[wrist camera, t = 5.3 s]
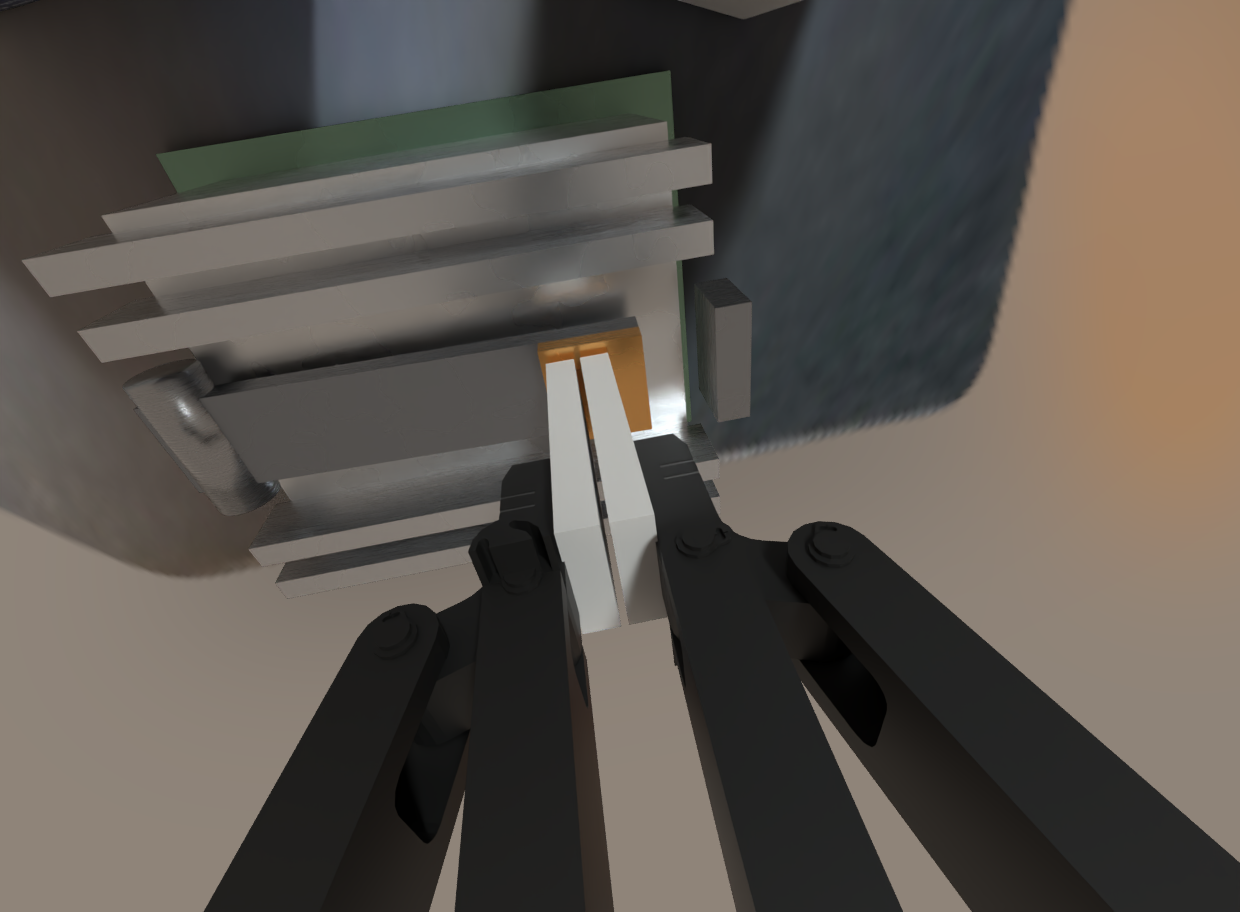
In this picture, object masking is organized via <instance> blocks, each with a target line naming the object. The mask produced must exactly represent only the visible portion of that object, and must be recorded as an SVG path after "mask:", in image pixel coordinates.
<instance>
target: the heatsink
mask: <svg viewBox="0 0 1240 912" xmlns="http://www.w3.org/2000/svg"><path fill="white" fill-rule="evenodd" d="M156 156H157V157H158V159H159V161H160V163H161V164H162V166H163V168H164V170H165V171H166V173H167V175H168V177H169V178H170V180H171V182H172V184H173V185H174V187H175V189H176V191H177V192H178V193H177V194H174V195H170V196H167V197H164V198H160V199H157V200H153V201H150V202H146V203H143V204H140V205H136V206H133V207H129V208H126V209H122V210H119V211H116V212H112V213H109V214H105V215H102V218H103V219H104V221H105V222H106V224H107V225H108V227H109V228H110V230H111V231H112V233H110V234H104V235H99V236H93V237H89V238H86V239H83V240H80V241H77V242H74V243H71V244H68V245H65V246H62V247H59V248H56V249H53V250H50V251H47V252H44V253H41V254H38V255H35V256H32V257H29V258H26V259H23V260H21V261H22V262H23V263H24V265H25V266H26V267H27V268H28V270H29V271H30V272H31V273H32V275H33V276H34V277H35V278H36V280H37V281H38V282H39V284H40V285H41V286H42V287H43V289H44V290H45V291H46V292H47V294H48V295H49V296H50V297H54V296H60V295H66V294H72V293H78V292H83V291H89V290H95V289H101V288H107V287H112V286H118V285H124V284H130V283H136V282H142V281H145V283H146V284H147V286H148V287H149V289H150V290H151V292H152V293H153V295H154V296H155V297H150V298H145V299H139V300H135V301H133V302H131V303H129V304H127V305H125V306H124V307H122V308H120V309H118V310H116V311H114V312H112V313H110V314H109V315H107V316H105V317H103V318H101V319H99V320H97V321H95V322H93V323H92V324H90V325H88V326H86V327H84V328H82V329H80V330H78V331H77V332H78V333H79V334H80V336H81V337H82V338H83V340H84V341H85V342H86V343H87V345H88V346H89V347H90V348H91V350H92V351H93V352H94V354H95V355H96V356H97V357H98V359H99V360H100V361H101V362H102V363H103V362H109V361H115V360H120V359H126V358H132V357H137V356H143V355H149V354H154V353H160V352H165V351H171V350H177V349H182V348H188V347H189V349H190V350H191V352H192V353H193V355H194V356H195V358H196V359H197V360H199V361H200V363H201V364H202V366H203V367H204V369H205V370H206V372H207V373H208V375H209V376H210V378H211V379H212V381H213V382H214V384H215V385H219V384H225V383H231V382H237V381H243V380H250V379H256V378H262V377H268V376H274V375H280V374H286V373H292V372H298V371H304V370H310V369H316V368H322V367H329V366H335V365H341V364H347V363H353V362H359V361H365V360H371V359H377V358H383V357H389V356H395V355H402V354H408V353H414V352H420V351H426V350H432V349H438V348H444V347H450V346H456V345H462V344H468V343H475V342H481V341H487V340H493V339H499V338H505V337H511V336H517V335H523V334H529V333H535V332H541V331H548V330H554V329H560V328H566V327H572V326H578V325H584V324H590V323H596V322H602V321H608V320H614V319H621V318H627V317H633V316H635V317H636V320H637V323H638V326H639V329H640V332H641V335H642V343H643V351H644V360H645V369H646V378H647V387H648V396H649V404H650V413H651V422H652V429H650V430H644V431H638V432H632V433H631V435H632V438H633V441H635V440H640V439H646V438H651V437H656V436H661V435H667V434H672V433H673V434H674V435H675V436H677V437H678V438H679V439H681V440H682V441H683V442H685V443H686V444H687V445H688V447H689V450H690V452H691V454H692V457H693V460H694V461H695V463H696V466H697V468H698V470H699V473H700V475H701V477H702V479H703V482H704V484H705V486H706V488H707V491H708V493H709V495H710V498H711V500H712V502H713V504H714V507H715V509H716V511H717V513H718V514H720V496H719V493H718V492H717V489H716V487H715V485H714V483H713V481H712V479H717V478H719V458H718V456H717V454H716V452H715V450H714V448H713V446H712V444H711V442H710V440H709V438H708V436H707V434H706V433H705V431H704V429H703V427H702V425H701V423H700V424H695V425H689V426H687V422H689V421H691V407H690V390H689V373H688V357H687V340H686V323H685V307H684V290H683V273H682V260H685V259H690V258H696V257H702V256H707V255H713V254H714V233H713V220H712V219H711V218H709V217H708V216H707V215H705V214H704V213H702V212H701V211H700V210H698V209H697V208H695V207H694V206H693V205H691V204H688V205H682V206H678V190H677V189H683V188H688V187H694V186H700V185H706V184H712V151H711V143H707V142H704V141H701V140H697V139H694V138H690V137H682V138H676V139H674V123H673V106H672V90H671V73H670V71H663V72H657V73H651V74H645V75H638V76H632V77H626V78H620V79H614V80H608V81H602V82H596V83H589V84H583V85H577V86H571V87H565V88H559V89H553V90H546V91H540V92H534V93H528V94H522V95H516V96H510V97H503V98H497V99H491V100H485V101H479V102H473V103H467V104H461V105H454V106H448V107H442V108H436V109H430V110H424V111H418V112H411V113H405V114H399V115H393V116H387V117H381V118H375V119H369V120H362V121H356V122H350V123H344V124H338V125H332V126H326V127H319V128H313V129H307V130H301V131H295V132H289V133H283V134H276V135H270V136H264V137H258V138H252V139H246V140H240V141H234V142H227V143H221V144H215V145H209V146H203V147H197V148H191V149H184V150H178V151H172V152H166V153H160V154H156ZM694 290H695V311H696V332H697V354H698V375H699V389H700V391H701V393H702V395H703V397H704V398H705V400H706V402H707V404H708V405H709V407H710V409H711V411H712V412H713V414H714V416H715V418H716V419H717V421H718V422H722V421H727V420H733V419H738V418H743V417H749V416H750V382H751V327H752V301H751V300H749V299H748V298H747V297H746V296H745V295H744V294H743V293H742V292H741V291H740V290H739V289H738V288H737V287H736V286H735V285H734V284H733V283H732V282H731V281H730V280H729V279H727V278H723V279H717V280H711V281H706V282H700V283H695V284H694ZM590 442H591V448H592V454H593V460H594V466H595V472H596V478H597V484H598V490H599V496H600V502H601V508H602V514H603V520H604V526H605V532H606V536H610V535H611V530H610V525H609V519H608V514H607V508H606V502H605V497H604V491H603V485H602V480H601V474H600V469H599V463H598V457H597V452H596V446H595V440H594V439H590ZM548 458H550V442H549V435H548V436H542V437H536V438H529V439H523V440H517V441H511V442H505V443H499V444H493V445H487V446H481V447H475V448H469V449H463V450H457V451H451V452H445V453H439V454H433V455H427V456H420V457H414V458H408V459H402V460H396V461H390V462H384V463H378V464H372V465H366V466H360V467H354V468H348V469H342V470H336V471H330V472H324V473H318V474H311V475H305V476H299V477H293V478H287V479H281V480H279V482H280V484H281V487H282V488H283V490H284V491H285V493H286V494H287V496H288V497H289V499H290V500H291V501H288V502H283V503H278V504H276V505H275V507H274V508H273V510H272V512H271V513H270V515H269V517H268V518H267V520H266V521H265V523H264V525H263V526H262V528H261V530H260V531H259V533H258V535H257V536H256V538H255V539H254V541H253V543H252V544H251V546H250V548H249V551H250V552H251V553H252V555H253V556H254V557H255V558H256V560H257V561H258V562H259V563H260V565H261V566H262V567H263V566H269V565H274V564H279V563H284V562H286V563H285V565H284V567H283V569H282V571H281V573H280V575H279V577H278V579H277V581H276V582H275V584H276V585H277V586H278V588H279V589H280V590H281V591H282V593H283V594H284V595H285V597H286V598H287V599H289V598H294V597H299V596H304V595H309V594H314V593H319V592H325V591H330V590H335V589H339V588H345V587H350V586H355V585H360V584H365V583H370V582H375V581H381V580H386V579H390V578H396V577H401V576H406V575H411V574H416V573H421V572H426V571H431V570H437V569H442V568H447V567H451V566H457V565H461V564H467V563H472V560H471V558H470V556H469V553H468V550H469V548H470V545H471V542H472V540H473V539H474V538H475V537H476V536H477V534H478V533H479V532H480V531H481V530H482V529H483V528H485V527H487V526H488V525H490V524H491V523H493V522H495V521H497V520H499V513H500V500H501V486H502V480H503V478H504V477H505V475H506V474H507V472H508V471H509V469H510V468H511V466H512V465H516V464H522V463H527V462H532V461H537V460H543V459H548Z"/></svg>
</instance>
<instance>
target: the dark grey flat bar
mask: <svg viewBox="0 0 1240 912" xmlns="http://www.w3.org/2000/svg"><path fill="white" fill-rule="evenodd" d="M603 353H608V355H609V359H610V362H611V366H612V369H613V373H614V376H615V380H616V383H617V387H618V390H619V393H620V397H621V400H622V404H623V407H624V411H625V414H626V418H627V421H628V425H629V428H630V432H631V433H632V432H638V431H644V430H650V429H652V422H651V413H650V404H649V396H648V387H647V378H646V369H645V360H644V351H643V343H642V335H641V332H640V329H639V326H638V323H637V320H636V317H635V316H633V317H627V318H621V319H614V320H608V321H602V322H596V323H590V324H584V325H578V326H572V327H566V328H560V329H554V330H548V331H541V332H535V333H529V334H523V335H517V336H511V337H505V338H499V339H493V340H487V341H481V342H475V343H468V344H462V345H456V346H450V347H444V348H438V349H432V350H426V351H420V352H414V353H408V354H402V355H395V356H389V357H383V358H377V359H371V360H365V361H359V362H353V363H347V364H341V365H335V366H329V367H322V368H316V369H310V370H304V371H298V372H292V373H286V374H280V375H274V376H268V377H262V378H256V379H250V380H243V381H237V382H231V383H225V384H219V385H215V384H214V382H213V381H212V379H211V378H210V376H209V375H208V373H207V372H206V370H205V369H204V367H203V366H202V364H201V363H200V361H199V360H195V359H186V360H180V361H175V362H171V363H167V364H164V365H160V366H157V367H155V368H152V369H149V370H147V371H145V372H143V373H140V374H138V375H136V376H135V377H133V378H131V379H130V380H128V381H127V382H126V383H125V384H124V385H123V389H124V391H125V392H126V393H127V395H128V396H129V397H130V398H131V400H132V401H133V402H134V403H135V405H136V406H137V407H136V408H135V409H134V411H135V412H136V413H137V415H138V416H139V417H140V418H141V420H142V421H143V422H144V423H145V425H146V426H147V427H148V428H149V430H150V431H151V432H152V434H153V435H154V436H155V437H156V439H157V440H158V441H159V442H160V444H161V445H162V446H163V447H164V449H165V450H166V451H167V452H168V454H169V455H170V456H171V458H172V459H173V460H174V461H175V463H176V464H177V465H178V466H179V468H180V469H181V470H182V471H183V473H184V474H185V475H186V476H187V478H188V479H189V480H190V481H191V483H192V484H193V485H194V487H195V488H196V489H197V490H198V492H199V493H202V492H204V493H205V494H206V495H207V496H208V498H209V499H210V500H211V502H212V503H213V504H214V505H215V507H216V508H217V509H218V510H219V512H220V513H221V514H223V515H226V516H235V515H240V514H244V513H247V512H250V511H252V510H255V509H257V508H259V507H261V506H262V505H264V504H265V503H267V502H268V501H270V500H271V499H272V498H273V497H274V496H275V495H276V494H277V493H278V491H279V490H280V487H281V484H280V482H279V480H281V479H287V478H293V477H299V476H305V475H311V474H318V473H324V472H330V471H336V470H342V469H348V468H354V467H360V466H366V465H372V464H378V463H384V462H390V461H396V460H402V459H408V458H414V457H420V456H427V455H433V454H439V453H445V452H451V451H457V450H463V449H469V448H475V447H481V446H487V445H493V444H499V443H505V442H511V441H517V440H523V439H529V438H536V437H542V436H548V435H549V421H548V401H547V381H546V364H548V363H553V362H559V361H564V360H570V359H574V363H575V368H576V373H577V378H578V383H579V387H580V392H581V397H582V402H583V407H584V412H585V417H586V422H587V427H588V432H589V437H590V439H594V435H593V429H592V424H591V418H590V412H589V407H588V401H587V395H586V390H585V384H584V379H583V373H582V367H581V362H580V358H581V357H586V356H592V355H597V354H603Z"/></svg>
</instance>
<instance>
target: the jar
mask: <svg viewBox="0 0 1240 912" xmlns="http://www.w3.org/2000/svg"><path fill="white" fill-rule="evenodd" d="M678 1H682V2H685V3H689V4H692V5H696V6H699V7H703V8H706V9H709V10H713V11H716V12H720V13H723V14H727V15H730V16H733V17H737V18H740V19H748V18H751V17H754V16H757V15H760V14H763V13H766V12H769V11H773V10H776V9H779V8H782V7H785V6H788V5H791V4H794V3H797V2H800V1H803V0H678Z"/></svg>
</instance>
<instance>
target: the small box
mask: <svg viewBox="0 0 1240 912" xmlns="http://www.w3.org/2000/svg"><path fill="white" fill-rule="evenodd" d="M35 1H38V0H0V12H1V11H4V10H8V9H11V8H14V7H18V6H21V5H25V4H28V3H32V2H35Z"/></svg>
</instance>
